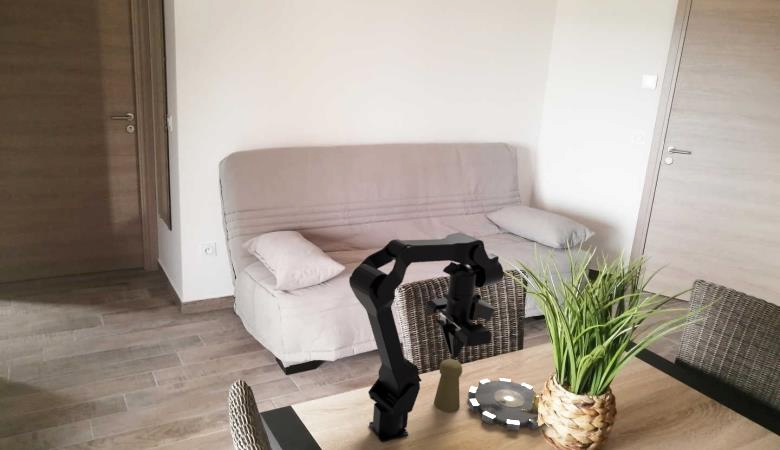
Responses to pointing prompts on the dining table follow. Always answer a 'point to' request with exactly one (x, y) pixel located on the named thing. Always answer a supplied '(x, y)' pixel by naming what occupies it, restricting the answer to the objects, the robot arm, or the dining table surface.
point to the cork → (448, 386)
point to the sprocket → (505, 403)
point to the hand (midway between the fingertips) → (453, 355)
